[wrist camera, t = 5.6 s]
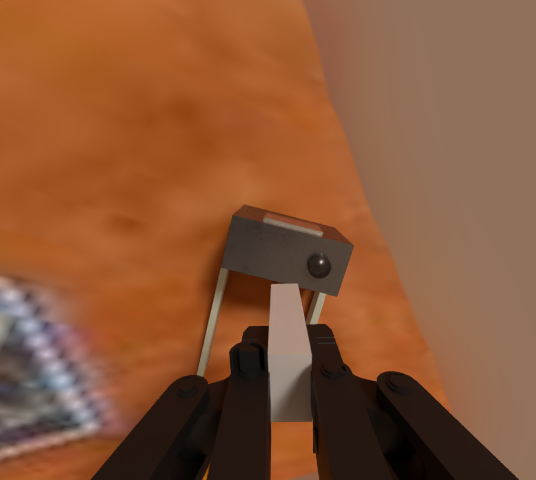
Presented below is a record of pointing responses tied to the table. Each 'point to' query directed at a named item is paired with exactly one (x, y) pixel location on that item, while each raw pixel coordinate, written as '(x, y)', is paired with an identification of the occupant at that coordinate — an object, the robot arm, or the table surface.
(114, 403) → the table surface
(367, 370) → the table surface
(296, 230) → the unit housing
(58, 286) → the table surface
